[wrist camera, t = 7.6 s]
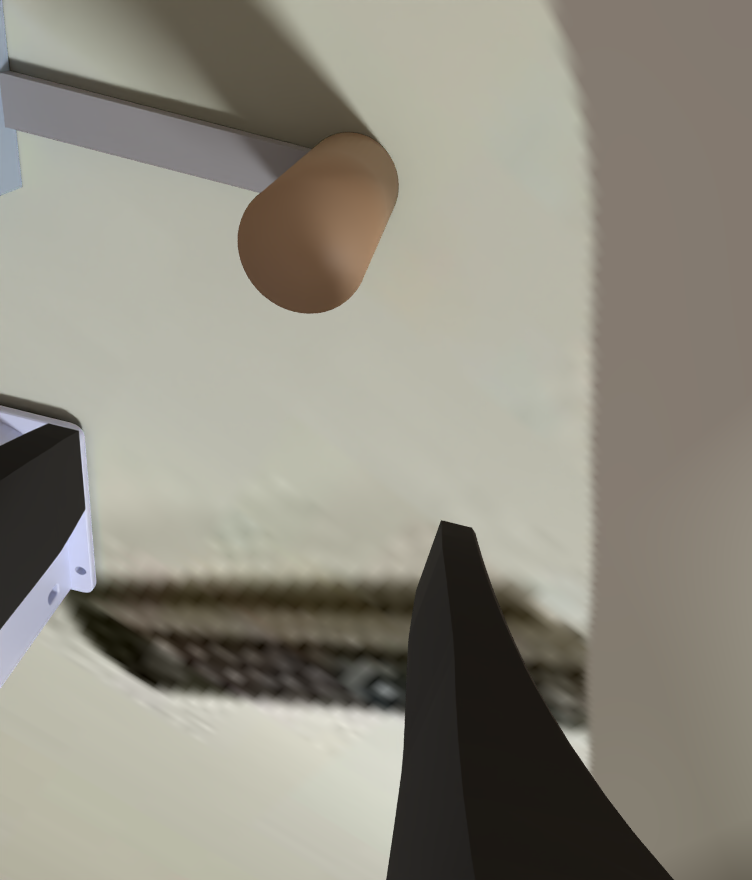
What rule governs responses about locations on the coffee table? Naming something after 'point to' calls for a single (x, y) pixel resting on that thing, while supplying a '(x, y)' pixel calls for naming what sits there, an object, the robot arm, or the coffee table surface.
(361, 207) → the block with pull
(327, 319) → the coffee table surface
